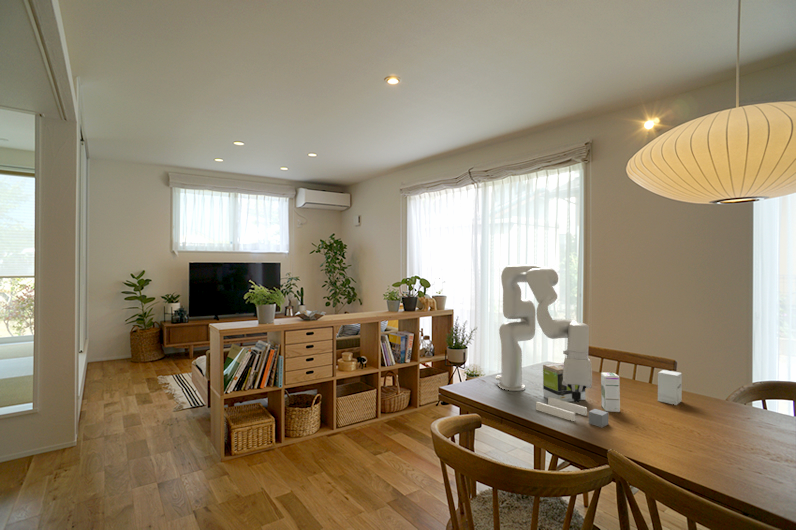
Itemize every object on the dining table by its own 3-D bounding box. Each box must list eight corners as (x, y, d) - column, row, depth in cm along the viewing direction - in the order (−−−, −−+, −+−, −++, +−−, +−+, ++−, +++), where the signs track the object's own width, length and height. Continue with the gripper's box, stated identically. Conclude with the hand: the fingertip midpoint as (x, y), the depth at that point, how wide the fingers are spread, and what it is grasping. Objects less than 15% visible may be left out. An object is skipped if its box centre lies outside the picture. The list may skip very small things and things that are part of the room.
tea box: (569, 393, 186) (569, 361, 186) (586, 400, 176) (586, 366, 176) (542, 396, 181) (542, 363, 181) (557, 404, 172) (557, 369, 172)
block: (588, 423, 151) (588, 411, 151) (594, 420, 154) (594, 408, 154) (602, 427, 147) (602, 415, 147) (608, 424, 150) (608, 412, 150)
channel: (535, 409, 165) (535, 402, 165) (549, 404, 171) (549, 396, 171) (573, 421, 152) (573, 413, 152) (586, 415, 159) (586, 407, 159)
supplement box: (677, 405, 170) (677, 375, 169) (657, 401, 175) (657, 372, 175) (682, 401, 174) (682, 372, 174) (662, 397, 180) (662, 369, 180)
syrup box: (620, 412, 162) (620, 376, 162) (604, 411, 163) (604, 375, 163) (615, 407, 167) (615, 372, 167) (600, 406, 169) (600, 371, 169)
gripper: (558, 355, 155) (556, 402, 156) (600, 358, 151) (599, 406, 152) (556, 350, 162) (554, 395, 163) (596, 353, 158) (594, 399, 159)
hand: (576, 400), depth 157 cm, fingers closed
